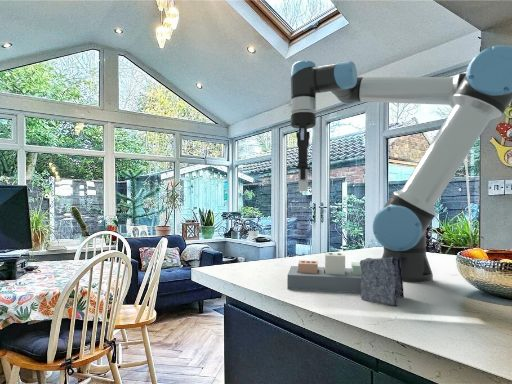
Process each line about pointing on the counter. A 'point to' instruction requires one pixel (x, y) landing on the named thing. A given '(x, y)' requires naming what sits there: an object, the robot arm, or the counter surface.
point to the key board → (324, 281)
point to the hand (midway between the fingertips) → (303, 190)
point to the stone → (381, 280)
